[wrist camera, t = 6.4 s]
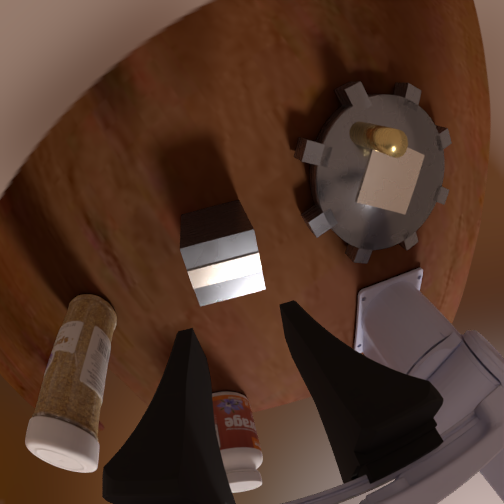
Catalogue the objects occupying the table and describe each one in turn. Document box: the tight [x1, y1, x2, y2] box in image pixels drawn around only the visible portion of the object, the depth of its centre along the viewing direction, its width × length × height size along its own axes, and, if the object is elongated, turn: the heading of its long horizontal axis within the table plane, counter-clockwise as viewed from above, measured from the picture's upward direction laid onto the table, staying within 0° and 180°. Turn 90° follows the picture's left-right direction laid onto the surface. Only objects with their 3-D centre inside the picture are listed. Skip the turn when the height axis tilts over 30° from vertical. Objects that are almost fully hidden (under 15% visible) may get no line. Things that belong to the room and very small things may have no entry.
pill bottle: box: [212, 391, 263, 493], centre depth 26 cm, size 6×6×11 cm
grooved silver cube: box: [180, 200, 265, 306], centre depth 18 cm, size 4×4×5 cm
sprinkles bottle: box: [25, 294, 117, 473], centre depth 16 cm, size 5×5×14 cm
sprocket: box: [294, 81, 451, 264], centre depth 18 cm, size 14×14×6 cm
